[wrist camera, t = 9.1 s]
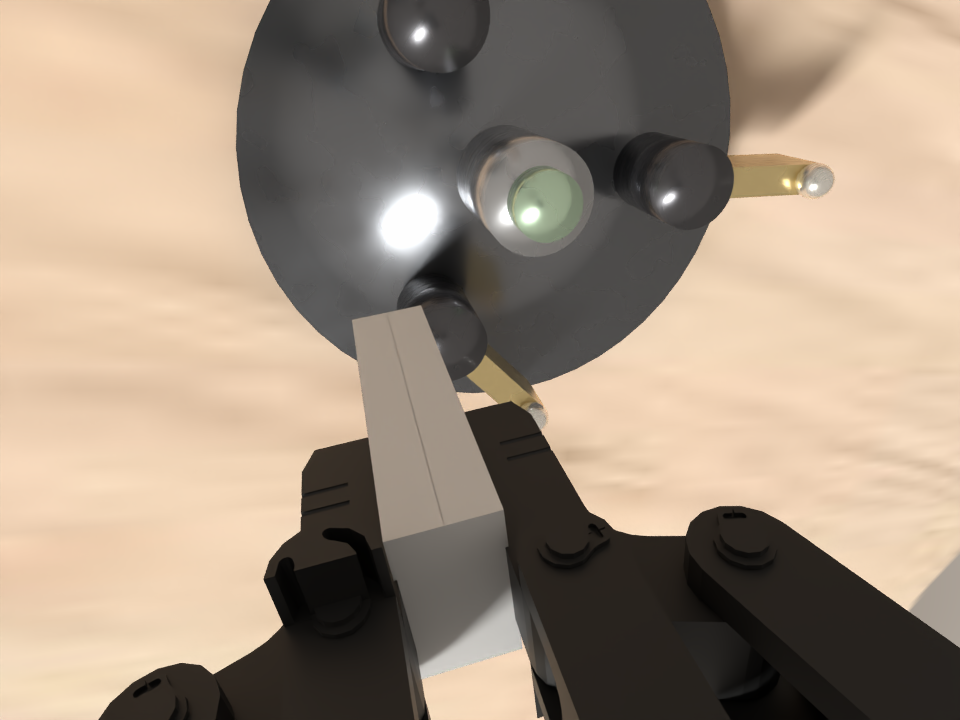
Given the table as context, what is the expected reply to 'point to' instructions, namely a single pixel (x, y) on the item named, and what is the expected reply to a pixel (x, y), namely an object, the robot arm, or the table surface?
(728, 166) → the knob
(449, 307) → the knob
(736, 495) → the table surface
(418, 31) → the knob
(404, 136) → the level base
